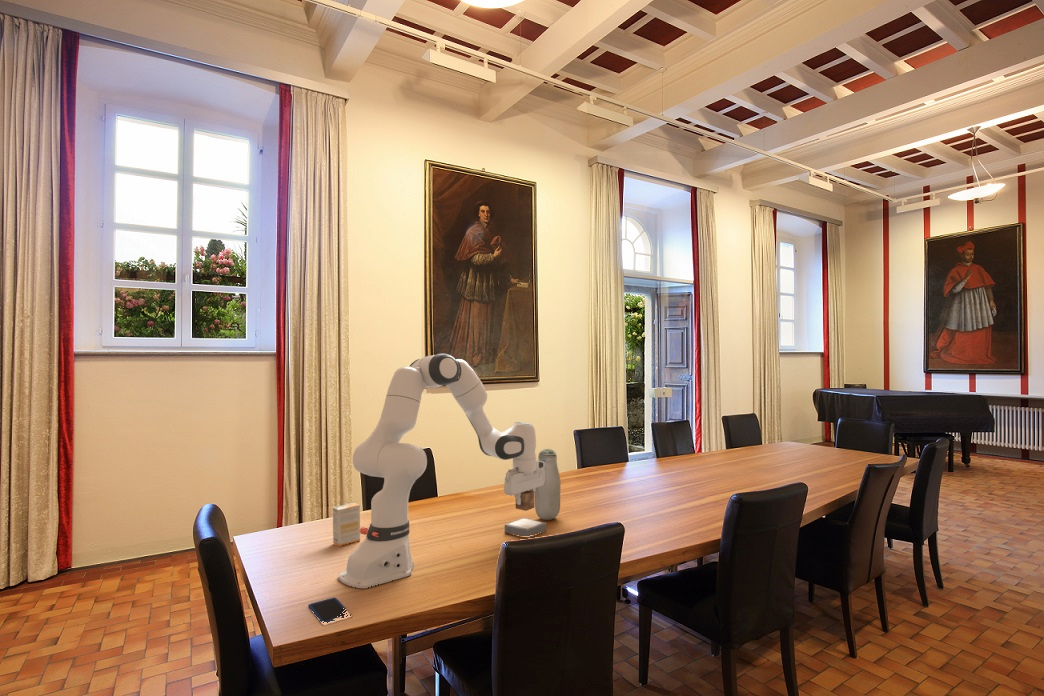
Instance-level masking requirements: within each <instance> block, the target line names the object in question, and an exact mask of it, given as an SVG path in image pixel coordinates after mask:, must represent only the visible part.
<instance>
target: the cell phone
mask: <svg viewBox="0 0 1044 696" xmlns="http://www.w3.org/2000/svg"><path fill="white" fill-rule="evenodd" d="M308 606H309V607H308V609H309V610H310V609H311V610H312V611H313V612H314V614H315V615H316V616H317V617H318V618H319V619H320V621H321V622H322V621H324V622H327V623H328V622H330V621H335V620H336V619H337V618H340V616H342V617H341V618H344V615H345V614H343V613H345V612H346V611H347V610H348V609H347V608H346V606H345V605H343V603H342V602H341V601H340V600H339V599H338V598H337V597H330V598H326V599H323V600H319V601H315V602H312V603H309V604H308ZM343 608H344V609H343ZM345 609H347V610H345ZM311 610H310V611H311ZM344 610H345V611H344ZM312 611H311V612H312ZM343 611H344V612H343ZM313 612H312V613H313ZM342 612H343V613H342ZM314 614H313V615H314ZM340 614H341V615H340ZM346 614H347V613H346ZM315 615H314V616H315ZM351 615H352V614H351ZM351 615H350V616H351ZM316 616H315V617H316ZM337 616H338V617H337ZM347 616H348V615H347ZM347 616H346V617H347ZM317 617H316V618H317ZM335 618H336V619H335ZM320 621H319V622H320ZM324 622H323V623H324Z"/></svg>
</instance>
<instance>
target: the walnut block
mask: <svg viewBox="0 0 1044 696" xmlns="http://www.w3.org/2000/svg"><path fill="white" fill-rule="evenodd" d="M520 498H521V499H523V504H521V505H517V502H516V501H515V509H516V510H517V509H518V510H521V511H525V512H526V511H529V510H531V509H535V493H534V491H529V490H528V491H525V492H522V493H521V496H520Z"/></svg>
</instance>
